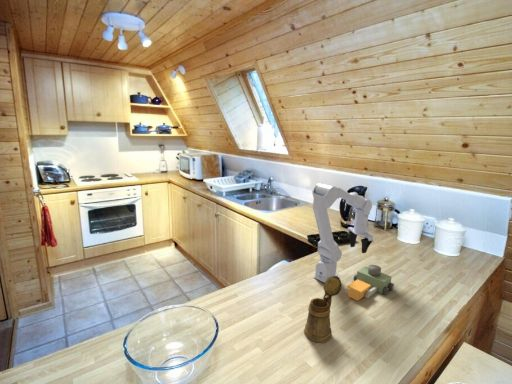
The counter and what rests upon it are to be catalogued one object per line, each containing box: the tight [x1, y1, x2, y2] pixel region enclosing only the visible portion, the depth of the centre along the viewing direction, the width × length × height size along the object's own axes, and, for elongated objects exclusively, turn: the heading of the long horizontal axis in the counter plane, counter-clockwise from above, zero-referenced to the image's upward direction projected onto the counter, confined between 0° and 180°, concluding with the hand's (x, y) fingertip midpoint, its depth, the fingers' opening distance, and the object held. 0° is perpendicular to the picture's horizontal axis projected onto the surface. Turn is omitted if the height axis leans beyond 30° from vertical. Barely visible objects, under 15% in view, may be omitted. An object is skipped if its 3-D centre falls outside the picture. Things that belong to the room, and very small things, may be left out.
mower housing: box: [353, 264, 395, 299], centre depth 124 cm, size 16×14×8 cm
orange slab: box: [346, 279, 371, 301], centre depth 119 cm, size 8×6×4 cm
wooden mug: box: [303, 275, 342, 344], centre depth 96 cm, size 9×14×18 cm, turn 130°
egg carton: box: [306, 230, 350, 248], centre depth 178 cm, size 18×30×4 cm, turn 122°
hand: (358, 249), depth 141 cm, fingers open, 7 cm apart
